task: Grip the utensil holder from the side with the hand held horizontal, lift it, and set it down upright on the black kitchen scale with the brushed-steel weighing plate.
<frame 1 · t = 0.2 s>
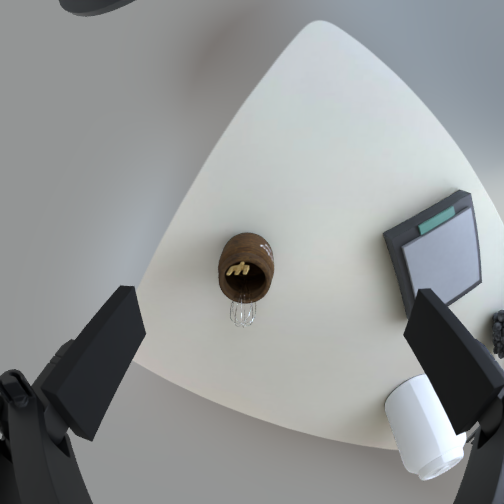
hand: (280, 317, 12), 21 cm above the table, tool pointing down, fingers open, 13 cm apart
can: (410, 392, 42), on the table
fruit: (498, 322, 36), on the table
utensil holder: (247, 253, 33), on the table
scale: (436, 257, 32), on the table
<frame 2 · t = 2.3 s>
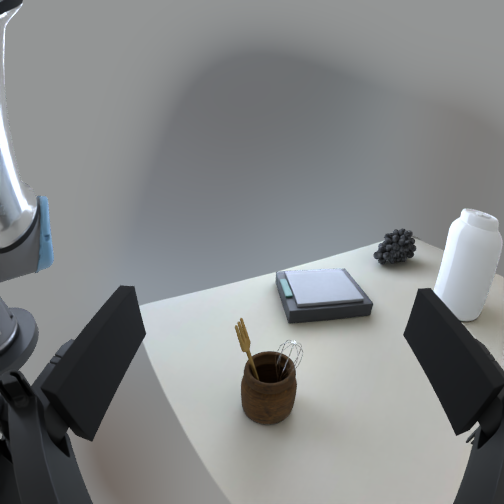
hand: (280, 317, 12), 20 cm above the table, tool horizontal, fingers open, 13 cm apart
can: (455, 306, 44), on the table
fruit: (390, 261, 66), on the table
utensil holder: (266, 406, 28), on the table
scale: (320, 298, 50), on the table
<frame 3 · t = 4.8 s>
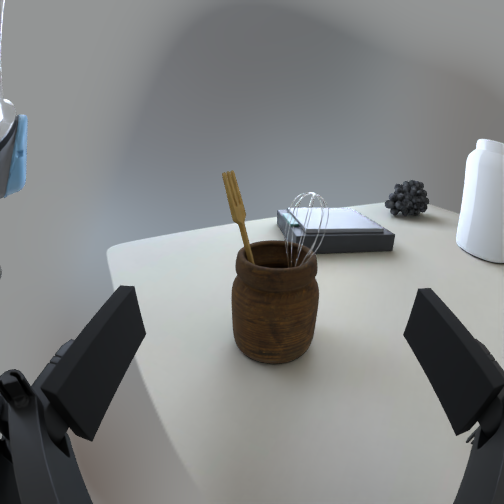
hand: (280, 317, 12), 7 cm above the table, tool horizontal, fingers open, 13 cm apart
can: (482, 252, 36), on the table
fruit: (402, 214, 58), on the table
utensil holder: (271, 341, 20), on the table
scale: (330, 235, 42), on the table
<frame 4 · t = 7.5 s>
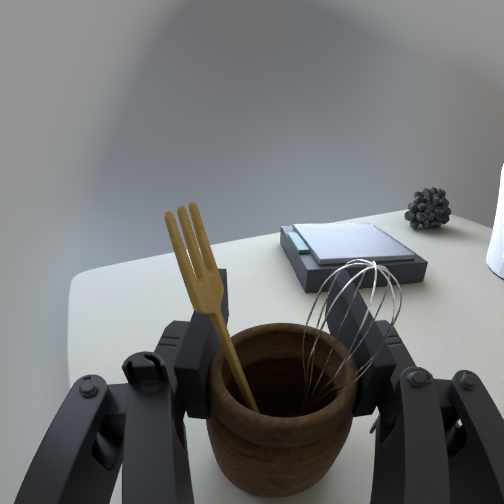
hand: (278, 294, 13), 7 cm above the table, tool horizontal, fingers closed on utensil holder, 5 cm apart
fruit: (422, 227, 49), on the table
utensil holder: (271, 453, 11), on the table, touching gripper
scale: (347, 260, 33), on the table
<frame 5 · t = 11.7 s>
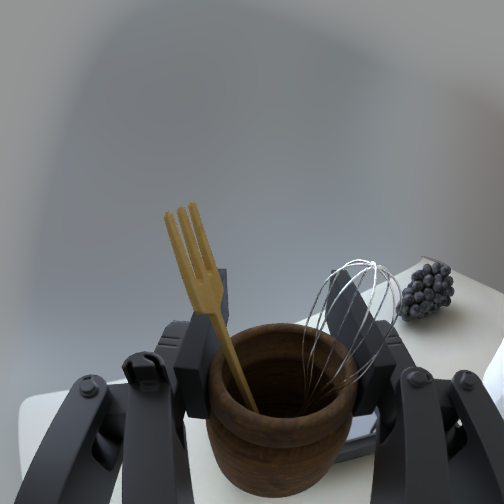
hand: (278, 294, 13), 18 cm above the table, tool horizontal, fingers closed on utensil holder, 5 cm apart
fruit: (416, 311, 41), on the table
utensil holder: (271, 453, 11), point 11 cm above the table, touching gripper
scale: (303, 413, 25), on the table
when the fingers open (10 cm above the table, at t = 15.7 s): utensil holder stays where it is, resting on scale.
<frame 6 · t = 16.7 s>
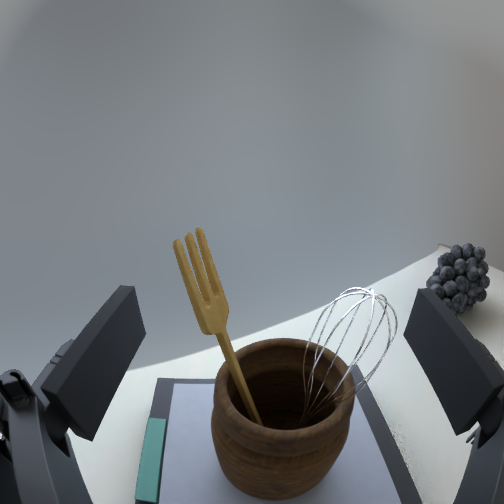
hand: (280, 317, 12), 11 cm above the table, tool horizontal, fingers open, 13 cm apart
fruit: (443, 309, 28), on the table
utensil holder: (272, 458, 11), point 3 cm above the table, touching scale
scale: (270, 474, 13), on the table
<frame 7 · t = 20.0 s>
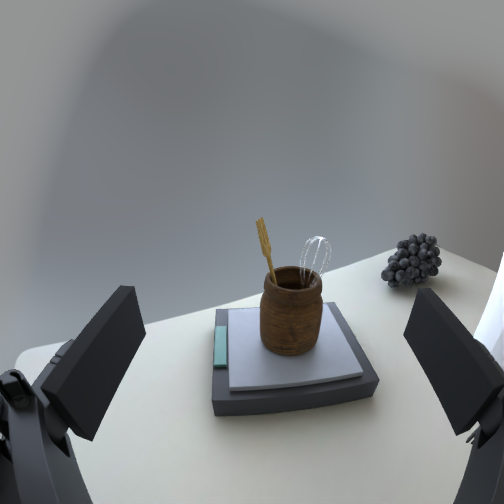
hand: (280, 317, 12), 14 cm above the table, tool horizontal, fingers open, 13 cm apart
can: (502, 358, 22), on the table
fruit: (404, 281, 43), on the table
utensil holder: (287, 339, 27), point 3 cm above the table, touching scale
scale: (285, 359, 28), on the table
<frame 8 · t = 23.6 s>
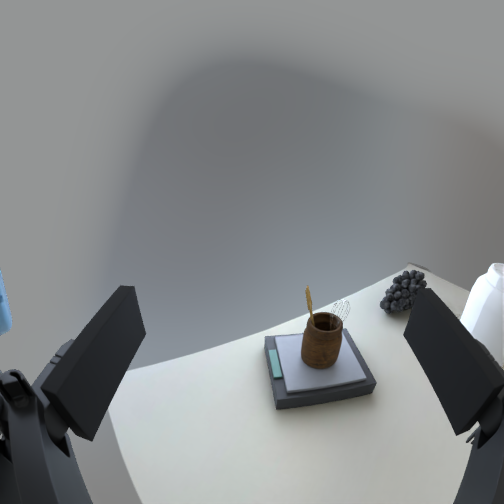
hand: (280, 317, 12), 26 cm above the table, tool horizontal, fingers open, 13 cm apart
can: (467, 369, 34), on the table
fruit: (397, 306, 56), on the table
utensil holder: (317, 357, 39), point 3 cm above the table, touching scale
scale: (315, 370, 40), on the table
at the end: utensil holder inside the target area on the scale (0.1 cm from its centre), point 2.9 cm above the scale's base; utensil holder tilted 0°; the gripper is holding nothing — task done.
